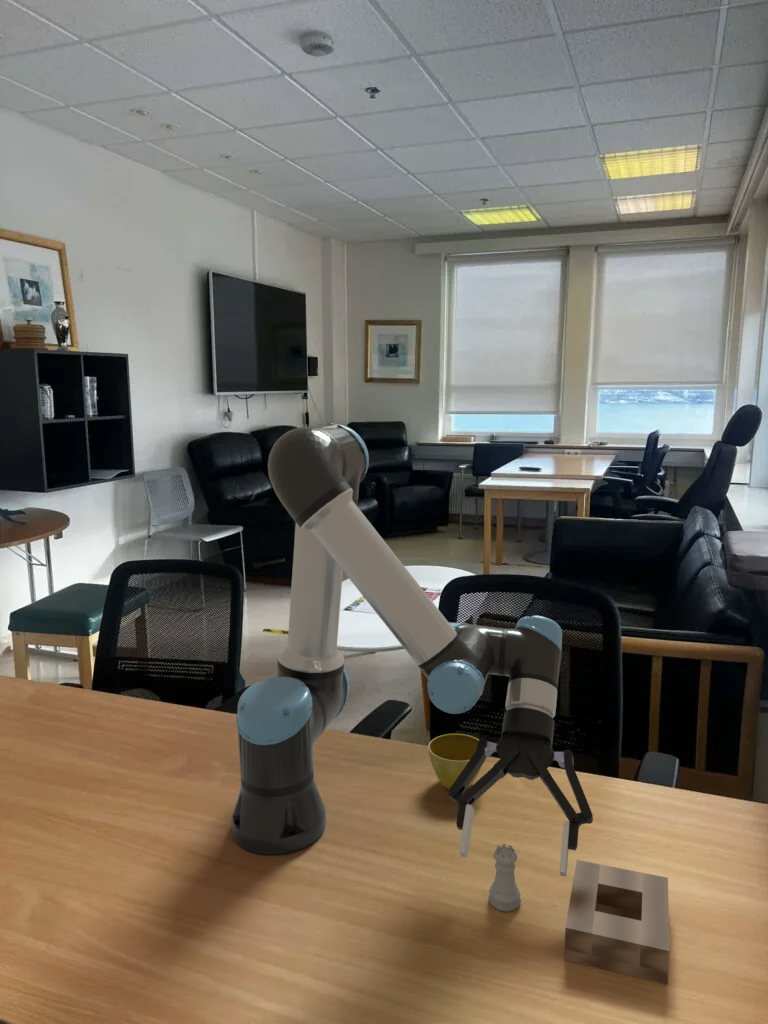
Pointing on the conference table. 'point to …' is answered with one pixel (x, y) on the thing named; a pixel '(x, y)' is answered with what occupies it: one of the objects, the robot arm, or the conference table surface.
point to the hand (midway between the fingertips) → (511, 864)
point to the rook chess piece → (504, 881)
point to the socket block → (619, 921)
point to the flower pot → (452, 756)
